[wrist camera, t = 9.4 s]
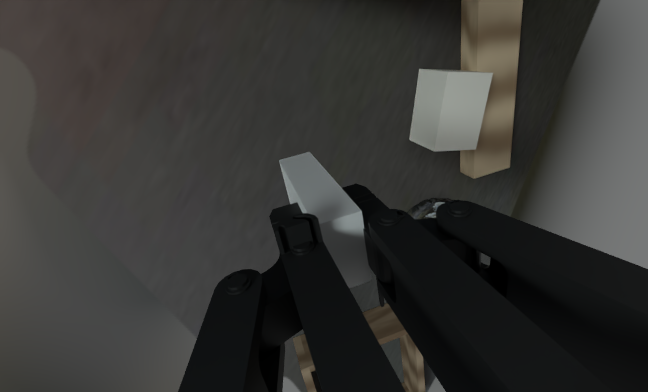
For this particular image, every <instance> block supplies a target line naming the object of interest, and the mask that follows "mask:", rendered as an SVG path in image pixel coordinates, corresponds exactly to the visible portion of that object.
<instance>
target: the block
mask: <svg viewBox="0 0 648 392" xmlns="http://www.w3.org/2000/svg"><path fill="white" fill-rule="evenodd" d="M492 75H493V73H489V72H476V71H464V70H438V69H419V75H418V82H417V89H416V96H415V104H414V111H413V118H412V125H411V132H410V139H409V140H411V141H413V142H415V143H417V144H419V145H421V146H423V147H426V148H428V149H430V150H432V151H455V150H476V147H477V142H478V138H479V133H480V129H481V124H482V120H483V115H484V111H485V106H486V102H487V97H488V93H489V89H490V84H491V80H492Z"/></svg>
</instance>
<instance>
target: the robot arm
mask: <svg viewBox="0 0 648 392" xmlns="http://www.w3.org/2000/svg"><path fill="white" fill-rule="evenodd" d="M279 162H280V166H281V170H282V174H283V178H284V181H285V185H286V189H287V193H288V197H289V201H290V204H289V205H286V206H283V207H279V208H276V209H273V210H272V212H271V215H270V220H271V224H272V227H273V230H274V234H275V237H276V241H277V244H278V247H279V251H280V256H279V259H278V261H277V262H276V263H275V264H274V265H273V266H272V267H271V268H270V269H268V270H267V271H265V272H264V273H262V274H260V273H259V272H258V271H256V270H252V269H244V270H240V271H236V272H233V273H231V274H230V275H228V276H226V277H225V278H224V279H222V280H221V281H220V282H219V283H218V285H217V286H216V288H215V290H214V293H213V295H212V298H211V301H210V304H209V307H208V309H207V312H206V315H205V318H204V321H203V323H202V326H201V329H200V332H199V335H198V338H197V340H196V343H195V346H194V349H193V352H192V354H191V357H190V360H189V363H188V366H187V368H186V371H185V375H184V377H183V380H182V383H181V385H180V388H179V391H178V392H282V388H283V372H284V357H285V344H284V342H285V341H286V340H288V339H289V338H291V337H292V336H294V335H295V334H296V333H298V332H299V331H301V330H302V329H303V331H304V334H305V337H306V341H307V344H308V347H309V351H310V354H311V357H312V360H313V364H314V367H315V370H316V374H317V377H318V380H319V383H320V387H321V390H322V392H406V391H405V389H404V388H403V386H402V384H401V382H400V380H399V378H398V377H397V375H396V373H395V371H394V369H393V368H392V366H391V364H390V362H389V360H388V358H387V357H386V355H385V353H384V351H383V349H382V347H381V346H380V344H379V342H378V340H377V338H376V337H375V335H374V333H373V331H372V329H371V327H370V326H369V324H368V322H367V320H366V318H365V317H364V315H363V313H362V311H361V309H360V307H359V306H358V304H357V302H356V300H355V298H354V296H353V295H352V293H351V291H350V289H349V288H352V287H354V286H357V285H360V284H363V283H366V282H369V281H371V280H372V276H371V270H370V268H371V269H372V271H373V272H374V274H375V275H376V280H377V287H378V294H379V301H380V305H381V307H384V298H385V300H386V301H387V303H388V304H389V306H390V308H391V309H392V311H393V312H394V314H395V315H396V317H397V318H398V320H399V321H400V323H401V324H402V326H403V327H404V329H405V330H406V332H407V333H408V335H409V336H410V338H411V339H412V341H413V342H414V344H415V345H416V347H417V348H418V350H419V351H420V353H421V354H422V356H423V357H424V359H425V361H426V362H427V364H428V365H429V367H430V368H431V370H432V371H433V373H434V374H435V376H436V377H437V379H438V380H439V382H440V383H441V385H442V386H443V388H444V389H445V391H446V392H648V269H646V268H643V267H641V266H638V265H635V264H633V263H630V262H628V261H625V260H622V259H620V258H617V257H614V256H612V255H609V254H607V253H604V252H601V251H599V250H596V249H593V248H591V247H588V246H586V245H583V244H580V243H578V242H575V241H572V240H570V239H567V238H565V237H562V236H559V235H557V234H554V233H551V232H549V231H546V230H543V229H541V228H538V227H535V226H533V225H530V224H528V223H525V222H523V221H520V220H517V219H515V218H512V217H509V216H507V215H504V214H502V213H499V212H496V211H494V210H491V209H488V208H486V207H483V206H481V205H478V204H475V203H472V202H468V201H460V200H454V201H448V202H446V203H443V204H441V205H440V206H438V207H437V210H436V217H434V218H425V219H414V218H413V217H412V216H410V215H409V214H408V213H406V212H404V211H402V210H397V209H389V208H388V207H387V206H386V205H385V204H384V203H382V202H381V201H380V200H379V199H378V198H376V196H375V195H374V194H373V193H371V191H370V190H369V189H367V188H366V187H364V186H361V185H358V184H354V185H350V186H347V187H343V188H341V187H340V186H339V185H338V184H337V182H336V181H335V180H334V179H333V178H332V177H331V176H330V175H329V173H328V172H327V171H326V170H325V169H324V168H323V167H322V166H321V164H320V163H319V162H318V161H317V160H316V159H315V158H314V156H313V155H312V154H311V153H310V152H307V153H304V154H300V155H296V156H292V157H289V158H285V159H281V160H279ZM481 253H483V254H485V255H487V256H489V257H491V260H490V266H488V265H485V264H483V263H481Z"/></svg>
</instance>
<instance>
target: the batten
mask: <svg viewBox="0 0 648 392" xmlns="http://www.w3.org/2000/svg"><path fill="white" fill-rule="evenodd" d="M522 6H523V0H461V70H464V71H476V72H489V73H493V75H492V80H491V84H490V89H489V93H488V97H487V102H486V106H485V111H484V115H483V120H482V124H481V129H480V133H479V138H478V142H477V147H476V150H460V172H462V173H464V174H466V175H468V176H470V177H472V178H473V179H475V178H478V177H481V176H484V175H487V174H491V173H494V172H497V171H500V170H503V169H507V168H510V158H511V145H512V133H513V120H514V107H515V95H516V82H517V69H518V57H519V44H520V31H521V19H522Z"/></svg>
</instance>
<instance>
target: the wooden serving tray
mask: <svg viewBox="0 0 648 392" xmlns="http://www.w3.org/2000/svg"><path fill="white" fill-rule="evenodd" d="M362 313H363V315H364V317H365V318H366V320H367V322H368V324H369V326H370V327H371V329H372V331H373V333H374V335H375V337H376V338H377V340H378V342H379V344H380V345H381V344H384V343H386V342H389V341H391V340H394V339H396V338H399V337H400V345H401V354H402V363H403V372H404V381H405V382H404V383H401V384H402V386H403V388H404V389H405V391H406V392H425V379H424V364H423V356H422V354H421V353H420V351H419V350H418V348H417V347H416V345H415V344H414V342H413V341H412V339H411V338H410V336H409V335H408V333H407V332H406V330H405V329H404V327H403V326H402V324H401V323H400V321H399V320H398V318H397V317H396V315H395V314H394V312H393V311H392V309H391V308H390V306H389V304H388V303H387V304H384V307H381V306H378V307H376V308H373V309H370V310H368V311H365V312H362ZM293 341H294V345H295V349H296V353H297V357H298V361H299V365H300V369H301V372H302V375H303V378H304V381H305V384H306V387H307V390H308V392H317V390H316V387H315V383H314V380H313V377H312V374H311V372H312V371H315V367H314V364H313V360H312V357H311V354H310V351H309V347H308V344H307V341H306V337H305V334H303V335H300V336H297V337H295V338H293Z"/></svg>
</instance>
